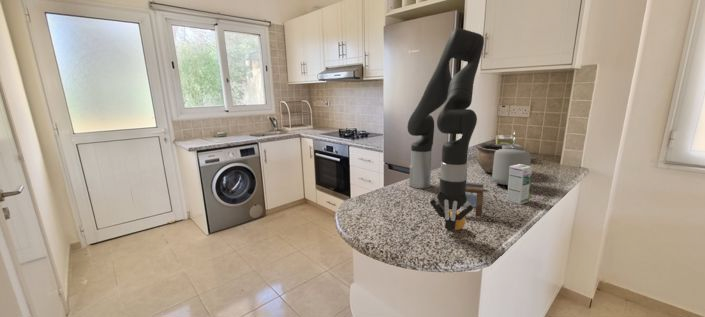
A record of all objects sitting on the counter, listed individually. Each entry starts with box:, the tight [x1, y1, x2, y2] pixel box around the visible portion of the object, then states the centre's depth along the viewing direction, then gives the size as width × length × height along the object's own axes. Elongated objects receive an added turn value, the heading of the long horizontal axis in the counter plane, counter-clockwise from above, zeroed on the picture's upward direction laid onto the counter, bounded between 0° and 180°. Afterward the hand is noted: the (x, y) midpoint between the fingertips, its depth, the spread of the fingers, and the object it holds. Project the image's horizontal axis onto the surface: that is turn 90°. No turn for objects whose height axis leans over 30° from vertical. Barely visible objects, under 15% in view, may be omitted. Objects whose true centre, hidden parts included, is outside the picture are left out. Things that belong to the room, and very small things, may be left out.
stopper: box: [466, 181, 484, 188], centre depth 133 cm, size 14×2×2 cm, turn 65°
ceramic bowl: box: [475, 141, 523, 174], centre depth 156 cm, size 22×22×15 cm
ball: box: [450, 210, 466, 231], centre depth 94 cm, size 6×6×6 cm
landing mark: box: [462, 193, 477, 208], centre depth 120 cm, size 14×14×1 cm
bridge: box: [437, 184, 485, 218], centre depth 106 cm, size 3×15×10 cm, turn 65°
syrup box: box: [506, 164, 533, 205], centre depth 115 cm, size 6×6×14 cm
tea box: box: [495, 134, 516, 145], centre depth 186 cm, size 15×10×15 cm, turn 157°
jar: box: [491, 130, 532, 186], centre depth 134 cm, size 19×15×25 cm
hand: (449, 230), depth 91 cm, fingers closed
